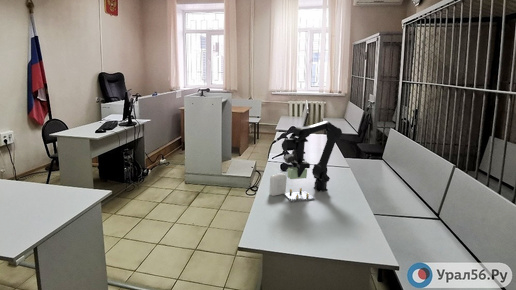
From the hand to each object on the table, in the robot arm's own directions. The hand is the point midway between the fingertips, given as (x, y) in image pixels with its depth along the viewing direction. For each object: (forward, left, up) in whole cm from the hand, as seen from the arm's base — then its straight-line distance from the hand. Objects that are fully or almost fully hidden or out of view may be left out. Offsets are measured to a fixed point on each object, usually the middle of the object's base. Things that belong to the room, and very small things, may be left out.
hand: (297, 175), depth 190 cm
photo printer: (+10, -3, -11) cm, 16 cm away
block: (0, 0, -1) cm, 1 cm away
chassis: (+1, +5, -11) cm, 12 cm away
